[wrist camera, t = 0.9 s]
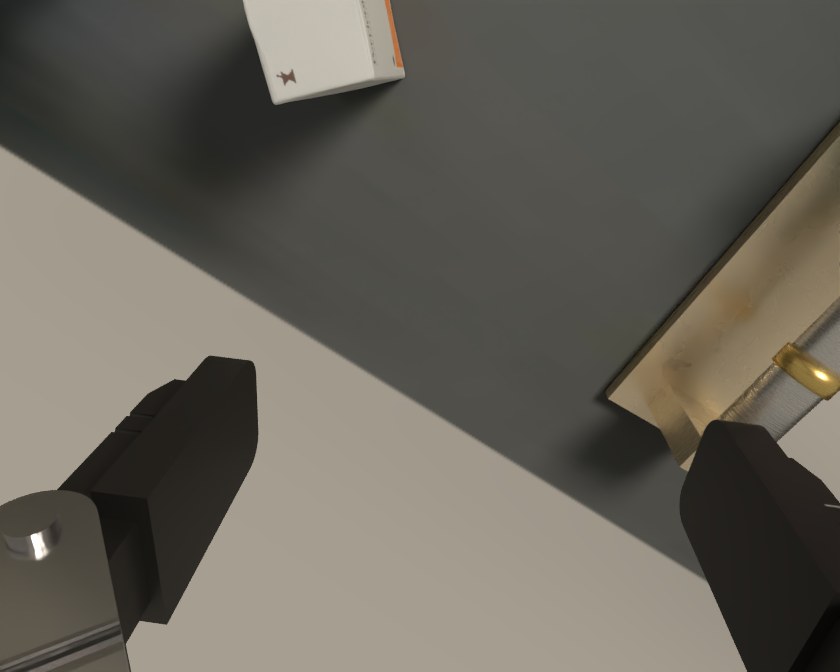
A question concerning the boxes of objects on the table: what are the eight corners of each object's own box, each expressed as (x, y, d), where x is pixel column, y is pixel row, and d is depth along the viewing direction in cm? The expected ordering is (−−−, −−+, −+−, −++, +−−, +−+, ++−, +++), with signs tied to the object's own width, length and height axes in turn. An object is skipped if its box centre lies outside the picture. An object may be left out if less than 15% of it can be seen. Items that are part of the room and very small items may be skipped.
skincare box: (408, 78, 32) (377, 85, 21) (335, 94, 33) (269, 109, 22) (383, -50, 30) (335, -113, 19) (305, -29, 30) (214, -80, 20)
